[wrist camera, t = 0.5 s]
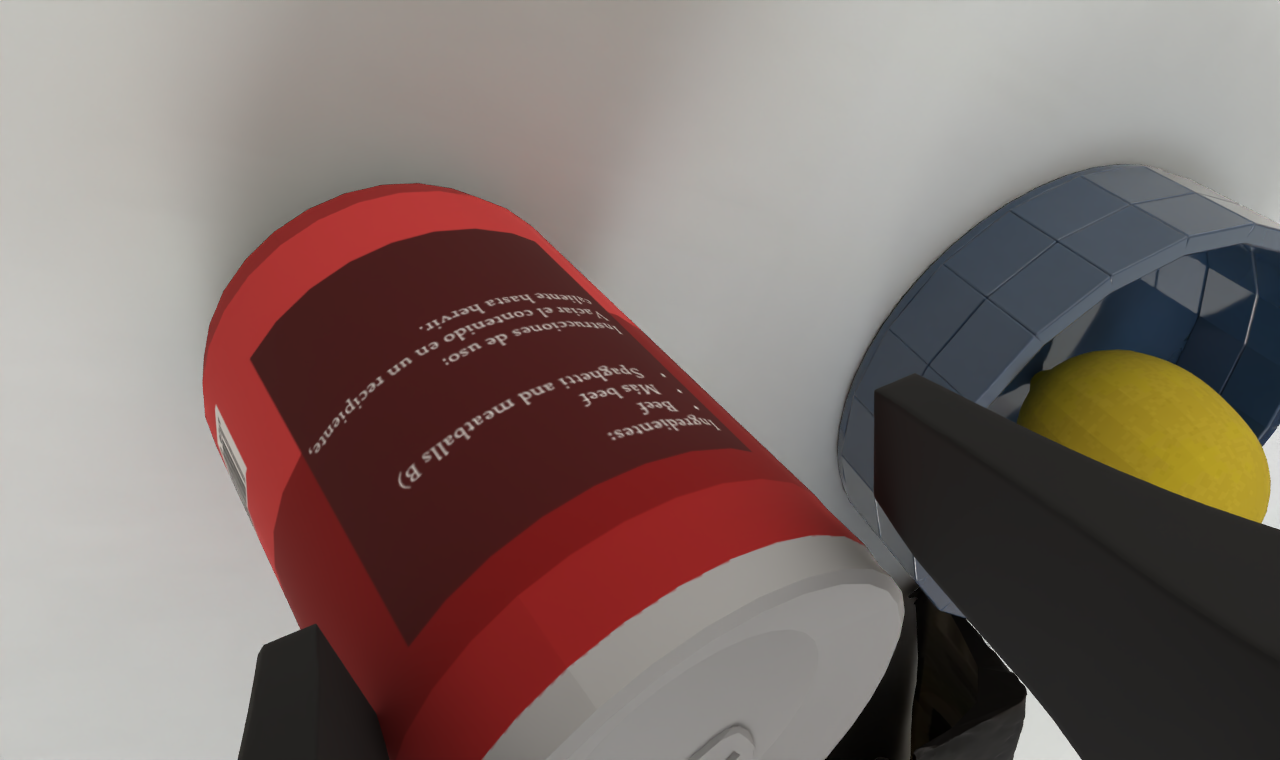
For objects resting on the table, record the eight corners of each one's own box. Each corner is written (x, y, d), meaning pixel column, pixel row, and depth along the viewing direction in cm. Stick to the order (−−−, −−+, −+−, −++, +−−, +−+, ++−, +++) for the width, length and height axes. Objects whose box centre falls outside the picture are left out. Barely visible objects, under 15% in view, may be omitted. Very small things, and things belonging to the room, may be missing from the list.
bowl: (1181, 423, 36) (1273, 491, 33) (860, 595, 34) (926, 683, 31) (1248, 83, 26) (1386, 136, 23) (808, 298, 25) (896, 384, 22)
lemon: (1032, 287, 27) (1271, 459, 21) (1138, 319, 30) (1373, 478, 24) (932, 437, 30) (1123, 628, 24) (1039, 453, 33) (1232, 627, 27)
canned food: (415, 516, 23) (674, 926, 16) (95, 428, 17) (308, 1035, 10) (611, 276, 22) (970, 610, 16) (350, 88, 16) (766, 514, 9)
